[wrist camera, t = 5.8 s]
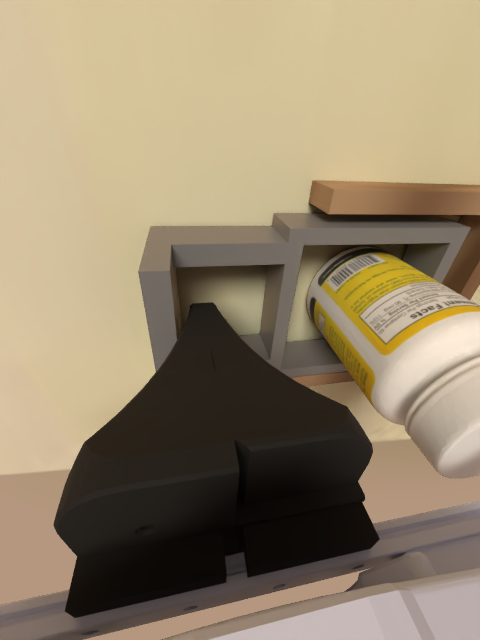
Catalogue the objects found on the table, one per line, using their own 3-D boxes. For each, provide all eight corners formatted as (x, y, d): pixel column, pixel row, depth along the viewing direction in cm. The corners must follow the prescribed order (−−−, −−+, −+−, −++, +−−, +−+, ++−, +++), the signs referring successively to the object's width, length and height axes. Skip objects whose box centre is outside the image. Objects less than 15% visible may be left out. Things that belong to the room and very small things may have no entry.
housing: (492, 185, 12) (535, 193, 11) (405, 352, 18) (425, 372, 16) (312, 180, 11) (333, 189, 9) (279, 364, 16) (289, 388, 15)
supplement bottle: (361, 331, 16) (497, 484, 9) (289, 320, 14) (389, 492, 8) (412, 255, 13) (647, 385, 7) (331, 231, 12) (531, 369, 5)
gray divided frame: (432, 214, 12) (522, 245, 9) (377, 342, 16) (425, 394, 13) (148, 212, 10) (135, 253, 7) (168, 360, 14) (165, 428, 11)
